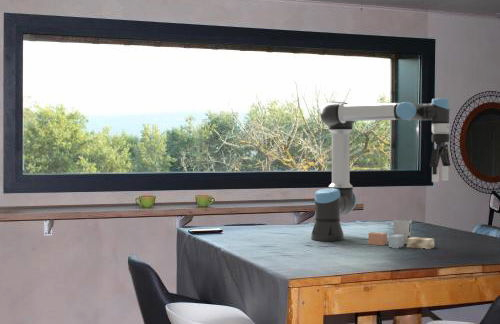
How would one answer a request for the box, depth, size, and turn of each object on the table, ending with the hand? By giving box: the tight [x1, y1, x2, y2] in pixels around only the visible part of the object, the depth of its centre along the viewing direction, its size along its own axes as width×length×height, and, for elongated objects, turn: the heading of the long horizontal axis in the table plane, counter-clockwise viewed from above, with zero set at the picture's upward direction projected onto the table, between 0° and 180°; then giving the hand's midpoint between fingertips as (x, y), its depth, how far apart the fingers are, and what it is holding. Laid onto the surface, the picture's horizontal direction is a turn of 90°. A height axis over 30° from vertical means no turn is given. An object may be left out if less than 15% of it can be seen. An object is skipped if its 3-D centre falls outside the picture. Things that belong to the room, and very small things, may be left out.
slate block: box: [388, 234, 405, 249], centre depth 292 cm, size 7×4×5 cm, turn 146°
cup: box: [392, 219, 412, 245], centre depth 303 cm, size 8×8×10 cm
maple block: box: [406, 236, 435, 250], centre depth 291 cm, size 10×6×4 cm, turn 56°
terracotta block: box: [367, 231, 388, 246], centre depth 300 cm, size 7×4×5 cm, turn 56°
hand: (440, 181), depth 299 cm, fingers open, 13 cm apart
